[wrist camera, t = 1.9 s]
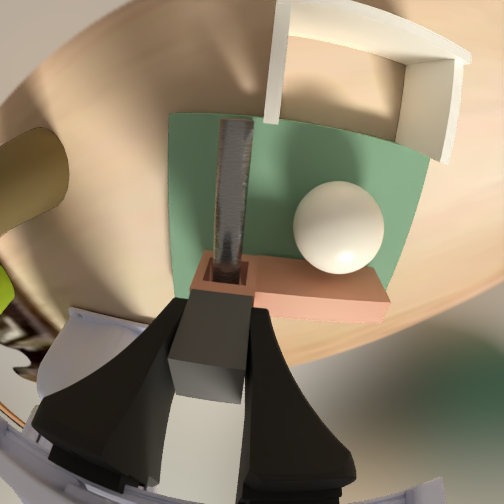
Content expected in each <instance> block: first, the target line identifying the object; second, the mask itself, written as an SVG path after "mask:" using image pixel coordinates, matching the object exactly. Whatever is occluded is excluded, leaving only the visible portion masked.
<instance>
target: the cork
mask: <svg viewBox="0 0 504 504" xmlns="http://www.w3.org/2000/svg"><path fill="white" fill-rule="evenodd" d="M68 181H69V167H68V160H67V156H66V153H65V150H64V147H63V145H62V144H61V142H60V141H59V139H58V137H57V136H56V135H55V134H54V133H52V132H51V131H50V130H49V129H45V128H42V127H39V128H34V129H31V130H29V131H27V132H25V133H23V134H21V135H19V136H18V137H16V138H14V139H12V140H10V141H9V142H7V143H5V144H3V145H2V146H0V235H1V234H3V233H5V232H7V231H9V230H10V229H12V228H14V227H16V226H18V225H20V224H22V223H24V222H25V221H27V220H29V219H31V218H33V217H35V216H37V215H39V214H41V213H44V212H46V211H48V210H50V209H52V208H54V207H56V206H58V205H59V204H60V202H61V201H62V200H63V199H64V197H65V194H66V191H67V189H68Z"/></svg>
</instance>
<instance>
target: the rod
mask: <svg viewBox="0 0 504 504" xmlns="http://www.w3.org/2000/svg"><path fill="white" fill-rule="evenodd" d="M254 123H255V121H253V119H246V118H221V119H220V125H219V139H218V155H217V172H216V192H215V215H214V246H213V282H218V283H227V284H235V285H239V284H240V272H241V261H242V249H243V238H244V227H245V216H246V205H247V195H248V184H249V173H250V163H251V153H252V143H253V133H254Z"/></svg>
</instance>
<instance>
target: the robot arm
mask: <svg viewBox="0 0 504 504" xmlns="http://www.w3.org/2000/svg"><path fill="white" fill-rule="evenodd" d="M187 300H188V299H185V298H178V297H175V298H173V299H172V300H171V301H170V303H169V304H168V305H167V306H166V307H165V308H164V310H163V311H162V312H161V313H160V314H159V315H158V316H157V317H156V318H155V320H154V321H153V322H152V323H151V324H150V325H148V324H143V323H138V322H133V321H129V320H124V319H119V318H115V317H111V316H106V315H102V314H98V313H94V312H90V311H86V310H82V309H78V308H75V307H69V309H68V313H69V316H70V318H69V320H68V321H67V323H66V324H65V325H64V327H63V328H62V330H61V332H60V333H59V335H58V336H57V338H56V339H55V341H54V342H53V344H52V345H51V347H50V349H49V350H48V352H47V354H46V355H45V357H44V359H43V360H42V362H41V364H40V367H39V370H38V375H37V391H38V394H39V397H40V399H41V403H40V405H36V406H35V407H34V408H33V410H32V412H31V414H30V416H29V418H28V420H27V422H26V424H25V426H24V429H23V431H22V433H21V432H19V431H18V430H16V429H15V428H14V427H12V426H11V425H9V424H8V422H7V421H5V420H4V419H3V418H2V417H1V416H0V477H1V478H2V479H3V480H4V481H5V482H6V483H7V484H8V485H9V486H10V487H12V488H13V490H14V491H15V493H16V494H17V495H18V497H19V498H20V499H21V501H22V502H23V503H24V504H203V503H197V502H191V501H185V500H181V499H176V498H172V497H167V496H163V495H159V494H157V485H158V484H159V481H160V470H161V461H162V453H163V446H164V440H165V434H166V427H167V422H168V417H169V412H170V407H171V403H172V400H173V396H174V393H175V388H174V384H173V380H172V375H171V371H170V367H169V363H168V355H169V352H170V349H171V346H172V343H173V340H174V337H175V334H176V332H177V329H178V326H179V323H180V320H181V317H182V314H183V312H184V309H185V306H186V303H187ZM355 480H356V469H355V465H354V461H353V458H352V455H351V452H350V451H349V450H348V449H347V448H346V447H345V446H344V445H343V444H342V443H341V442H340V441H339V440H338V439H337V438H336V437H335V436H334V435H333V434H332V432H331V431H330V430H329V429H328V428H327V427H326V425H325V424H324V423H323V422H322V420H321V419H320V418H319V416H318V415H317V414H316V412H315V411H314V410H313V408H312V407H311V406H310V404H309V403H308V401H307V400H306V398H305V396H304V395H303V394H302V392H301V390H300V388H299V387H298V385H297V383H296V381H295V380H294V378H293V376H292V374H291V372H290V370H289V368H288V366H287V364H286V361H285V359H284V357H283V355H282V352H281V350H280V347H279V345H278V342H277V339H276V336H275V333H274V330H273V327H272V323H271V319H270V314H269V310H268V309H266V308H257V307H251V316H250V327H249V338H248V349H247V360H246V370H245V420H244V429H243V439H242V449H241V458H240V468H239V477H238V485H237V494H236V504H339V497H341V496H342V487H344V486H346V485H348V484H350V483H352V482H354V481H355ZM348 504H446V497H445V491H444V485H443V479H442V477H438V478H435V479H433V480H430V481H427V482H424V483H421V484H419V485H416V486H414V487H411V488H409V489H407V490H405V491H402V492H399V493H395V494H391V495H387V496H383V497H379V498H375V499H370V500H365V501H360V502H354V503H348Z"/></svg>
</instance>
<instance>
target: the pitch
mask: <svg viewBox="0 0 504 504" xmlns="http://www.w3.org/2000/svg"><path fill="white" fill-rule="evenodd" d="M221 118H246V119H253V121H255V123H254V133H253V143H252V153H251V163H250V173H249V184H248V195H247V205H246V216H245V227H244V238H243V249H242V254H246V255H255V256H258V255H264V256H273V257H282V258H291V259H300V260H306V259H305V258H304V256H303V255H302V254H301V252H300V251H299V249H298V247H297V244H296V241H295V238H294V232H293V222H294V216H295V212H296V210H297V207H298V205H299V203H300V202H301V200H302V199H303V198H304V196H305V195H306V194H307V193H308V192H310V191H311V190H312V189H313V188H315V187H317V186H319V185H321V184H324V183H327V182H332V181H345V182H349V183H353V184H355V185H358V186H359V187H361V188H363V189H364V190H366V191H367V192H368V193H369V194H370V195H371V196H372V197H373V198H374V200H375V201H376V202H377V204H378V206H379V208H380V210H381V213H382V216H383V221H384V236H383V240H382V244H381V246H380V249H379V250H378V252H377V254H376V255H375V257H374V258H373V259H372V260H371V261H370V262H369V263H368V264H367V265H365V266H364V267H374V269H375V271H376V273H377V275H378V277H379V279H380V281H381V283H382V285H383V287H384V289H385V291H386V289H387V287H388V284H389V282H390V280H391V277H392V275H393V272H394V270H395V268H396V265H397V263H398V260H399V257H400V255H401V252H402V250H403V247H404V244H405V241H406V239H407V236H408V233H409V230H410V227H411V224H412V221H413V218H414V215H415V212H416V209H417V205H418V202H419V199H420V195H421V192H422V188H423V184H424V181H425V177H426V173H427V169H428V165H429V161H430V157H428V156H425V155H423V154H421V153H419V152H417V151H414V150H412V149H410V148H408V147H405V146H403V145H400V144H398V143H396V142H392V141H389V140H385V139H382V138H378V137H374V136H370V135H366V134H362V133H358V132H353V131H349V130H344V129H339V128H334V127H329V126H324V125H318V124H313V123H307V122H300V121H294V120H286V119H279V123H278V125H276V124H268V123H263V119H264V117H261V116H251V115H238V114H222V113H192V112H177V113H171V114H169V132H168V200H169V226H170V244H171V259H172V272H173V283H174V293H175V297H178V298H185V299H188V298H189V295H190V290H189V288H190V285H191V283H192V280H193V278H194V275H195V272H196V270H197V267H198V265H199V262H200V260H201V257H202V255H203V252H204V250H210V251H213V246H214V215H215V192H216V172H217V155H218V139H219V125H220V119H221Z"/></svg>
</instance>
